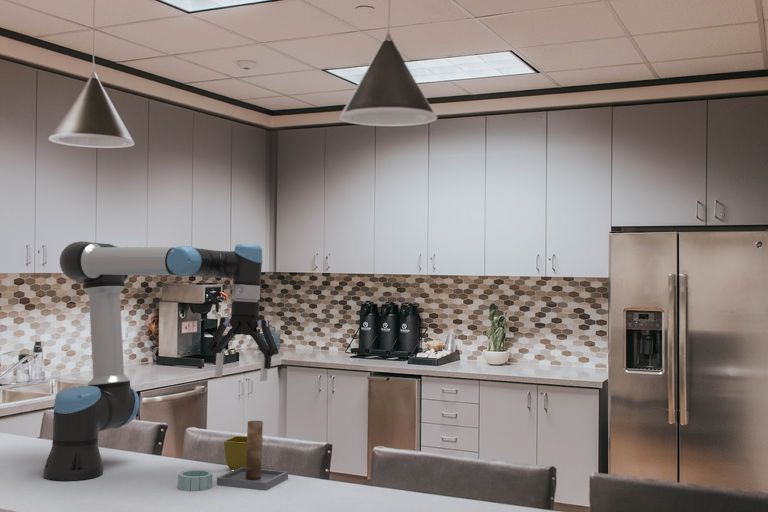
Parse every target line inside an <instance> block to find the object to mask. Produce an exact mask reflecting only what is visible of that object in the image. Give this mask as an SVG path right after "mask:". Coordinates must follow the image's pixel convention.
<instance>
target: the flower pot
mask: <svg viewBox="0 0 768 512" xmlns="http://www.w3.org/2000/svg"><path fill="white" fill-rule="evenodd" d="M263 439H264V437H262V442H263ZM223 444H224V445H223V446H224V456H225V461H226V464H227V466H228V469H230V471H231V470H236V469H239V468H241V467H245V468H246V455H247V436H245V435H244V436H241V435H234V436H233V437H231V438H228V439H225V440H224V441H223Z"/></svg>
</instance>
